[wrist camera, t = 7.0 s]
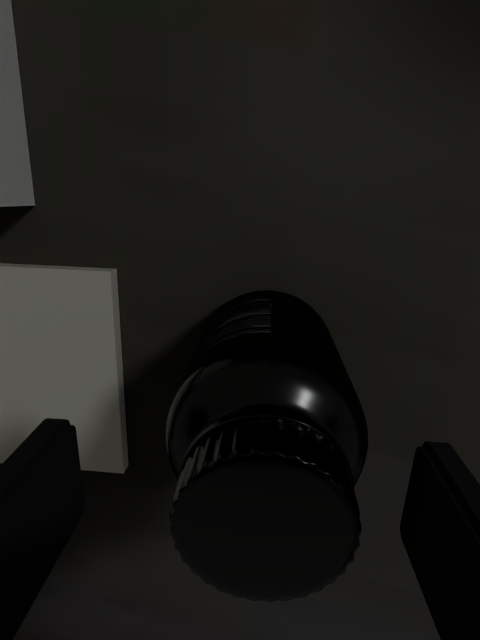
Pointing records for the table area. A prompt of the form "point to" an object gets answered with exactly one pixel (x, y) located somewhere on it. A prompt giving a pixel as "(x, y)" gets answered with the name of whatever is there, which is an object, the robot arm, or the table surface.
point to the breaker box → (12, 121)
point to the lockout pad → (63, 359)
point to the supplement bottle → (266, 452)
